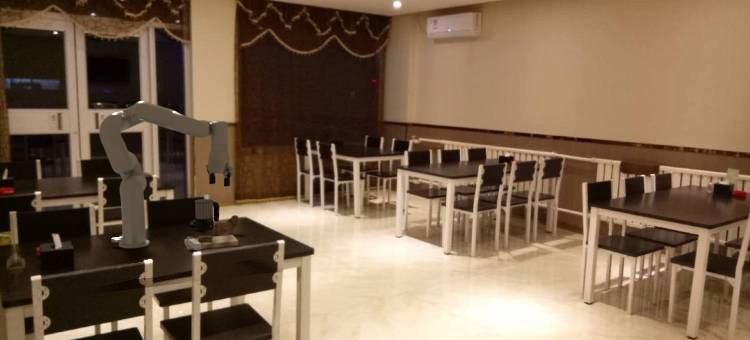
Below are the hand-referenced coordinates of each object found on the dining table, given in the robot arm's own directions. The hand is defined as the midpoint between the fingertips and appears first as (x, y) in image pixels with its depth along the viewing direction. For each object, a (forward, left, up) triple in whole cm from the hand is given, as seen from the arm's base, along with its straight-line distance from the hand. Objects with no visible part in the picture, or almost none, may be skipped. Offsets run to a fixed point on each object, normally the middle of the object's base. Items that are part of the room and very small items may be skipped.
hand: (219, 185), depth 261 cm
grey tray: (-5, -3, -27) cm, 27 cm away
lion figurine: (+5, +14, -27) cm, 31 cm away
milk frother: (-4, +32, -27) cm, 42 cm away
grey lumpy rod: (-14, -12, -24) cm, 31 cm away
